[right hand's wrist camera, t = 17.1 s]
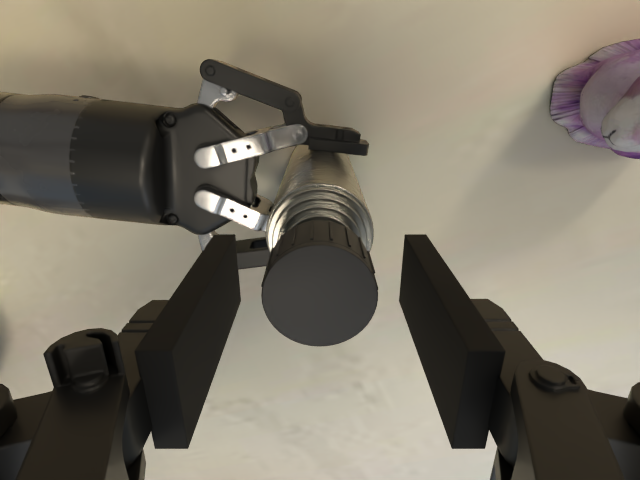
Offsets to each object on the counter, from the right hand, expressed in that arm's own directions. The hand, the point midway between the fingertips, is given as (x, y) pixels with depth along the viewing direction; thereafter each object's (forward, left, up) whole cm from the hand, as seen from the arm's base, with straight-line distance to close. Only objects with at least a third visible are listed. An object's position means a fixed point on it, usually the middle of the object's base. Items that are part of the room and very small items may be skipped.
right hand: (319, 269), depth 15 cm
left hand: (-1, +2, -13) cm, 13 cm away
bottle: (0, 0, -19) cm, 19 cm away
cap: (0, 0, +2) cm, 2 cm away
